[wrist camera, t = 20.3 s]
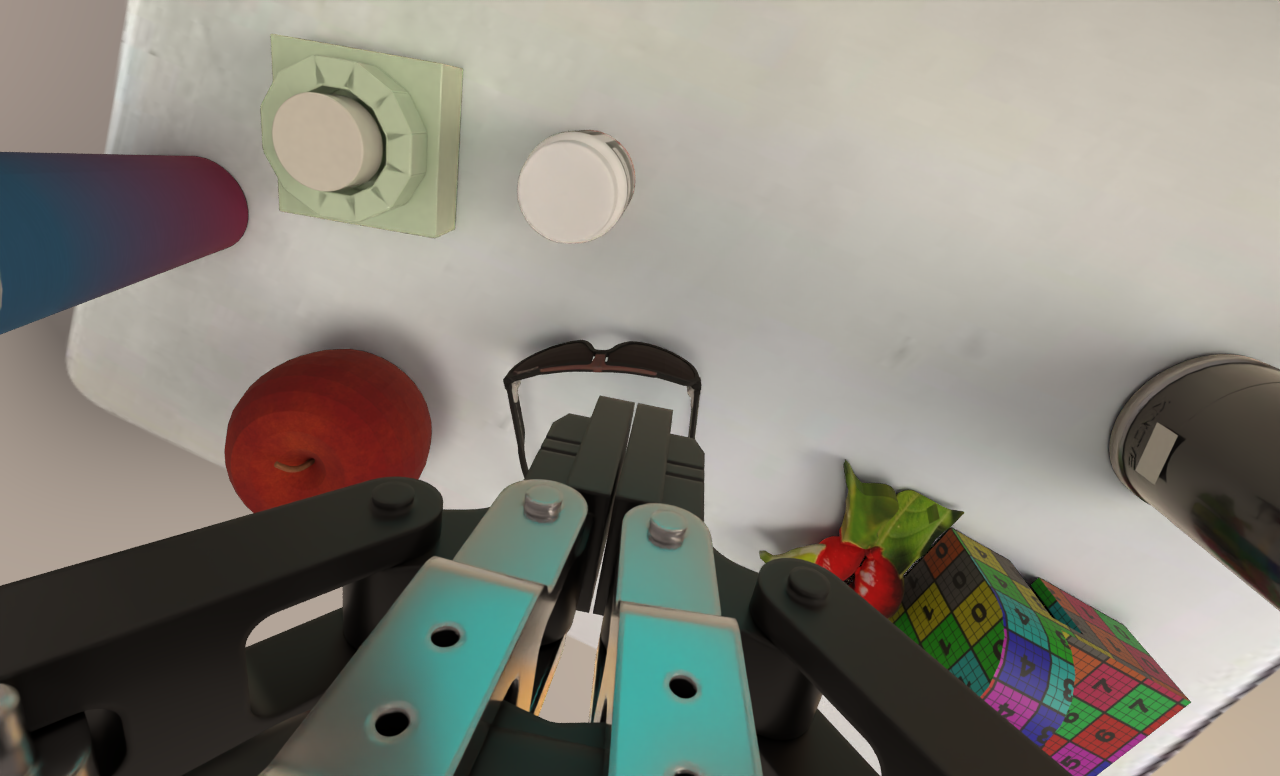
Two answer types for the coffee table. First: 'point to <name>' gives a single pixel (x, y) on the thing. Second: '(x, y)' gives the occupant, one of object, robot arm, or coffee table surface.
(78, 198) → the cup
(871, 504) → the decorative ornament
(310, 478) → the apple
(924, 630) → the block
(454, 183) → the button base
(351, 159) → the beige button cap
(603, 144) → the pill bottle
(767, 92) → the coffee table surface
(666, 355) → the sunglasses
